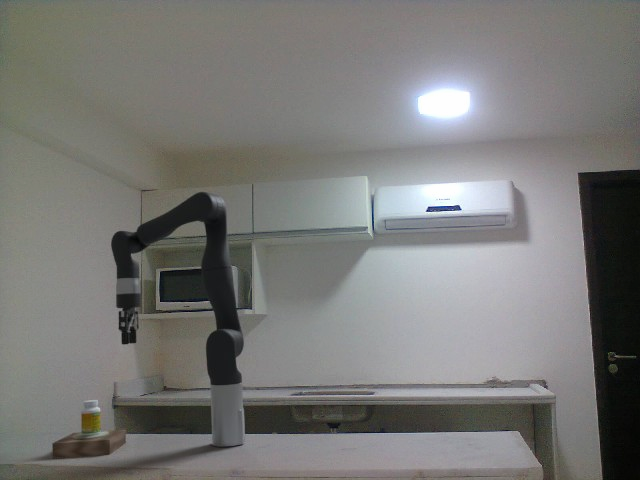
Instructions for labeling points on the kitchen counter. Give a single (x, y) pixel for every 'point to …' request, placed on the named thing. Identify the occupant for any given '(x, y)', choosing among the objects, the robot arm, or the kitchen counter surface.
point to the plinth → (89, 444)
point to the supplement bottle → (90, 418)
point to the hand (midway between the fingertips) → (129, 343)
